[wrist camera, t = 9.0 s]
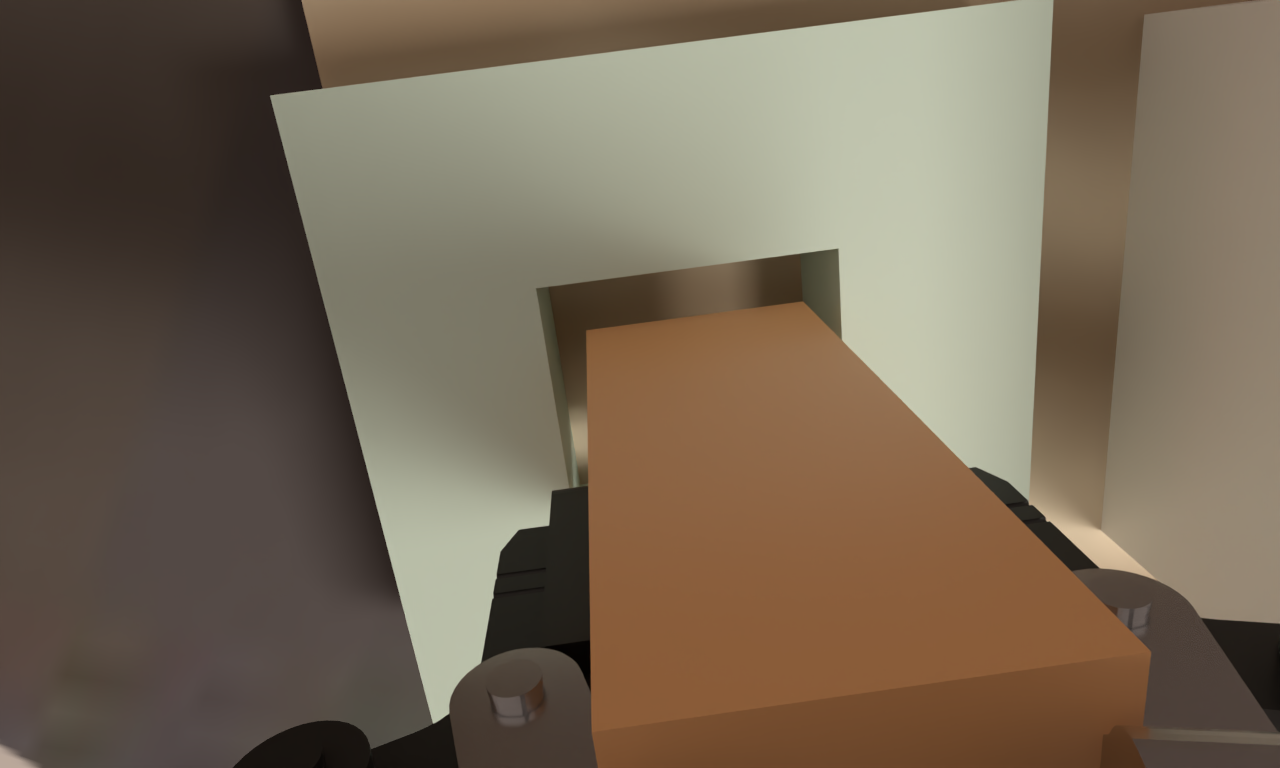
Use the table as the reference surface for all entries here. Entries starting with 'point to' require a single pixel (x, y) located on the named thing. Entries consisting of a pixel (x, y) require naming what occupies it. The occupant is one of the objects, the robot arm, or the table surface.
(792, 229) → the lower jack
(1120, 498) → the white socket block
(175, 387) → the table surface
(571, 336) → the jack board
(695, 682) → the plug
